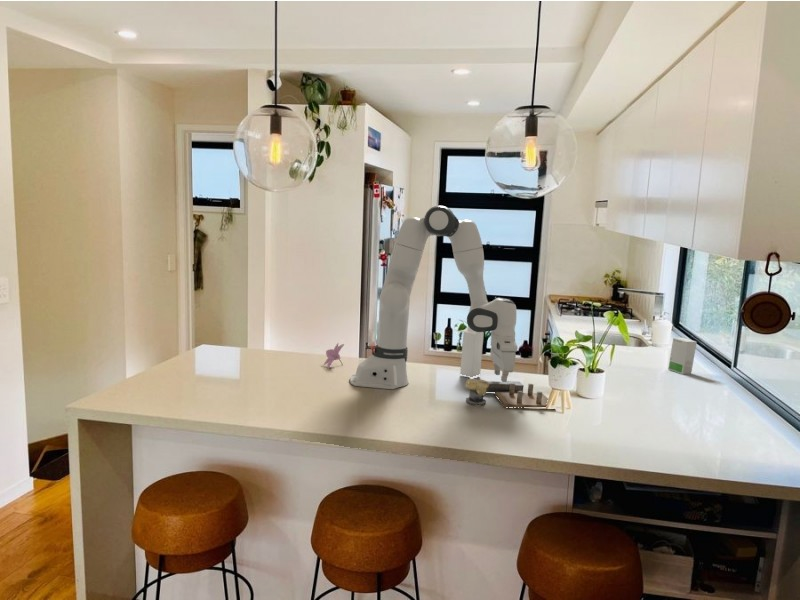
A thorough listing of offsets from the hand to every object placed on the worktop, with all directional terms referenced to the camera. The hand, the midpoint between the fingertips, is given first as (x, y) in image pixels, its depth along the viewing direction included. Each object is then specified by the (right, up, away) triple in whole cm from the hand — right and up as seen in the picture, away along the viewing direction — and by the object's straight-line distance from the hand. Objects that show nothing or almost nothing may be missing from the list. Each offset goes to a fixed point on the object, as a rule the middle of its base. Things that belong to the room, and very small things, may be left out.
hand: (500, 377), depth 213 cm
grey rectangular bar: (-1, -6, +1) cm, 6 cm away
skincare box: (+94, -5, +53) cm, 108 cm away
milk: (-9, -3, +21) cm, 23 cm away
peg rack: (+7, -8, -9) cm, 14 cm away
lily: (-66, +1, +25) cm, 70 cm away
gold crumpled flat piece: (-10, -2, -15) cm, 18 cm away
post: (-11, -7, -12) cm, 18 cm away
